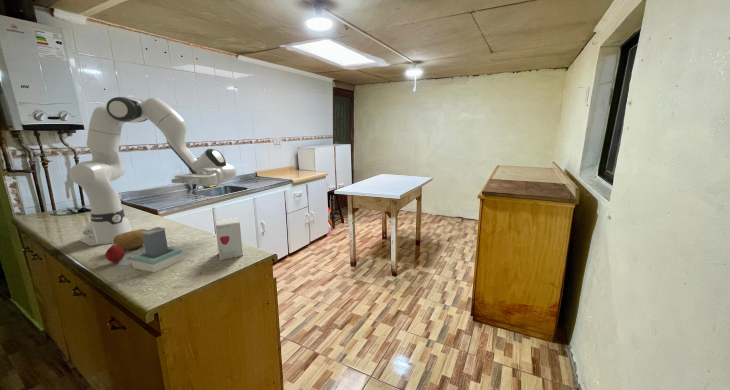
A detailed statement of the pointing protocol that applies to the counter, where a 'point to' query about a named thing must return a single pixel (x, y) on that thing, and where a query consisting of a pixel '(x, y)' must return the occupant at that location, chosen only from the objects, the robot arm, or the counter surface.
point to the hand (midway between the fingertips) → (180, 181)
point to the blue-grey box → (155, 242)
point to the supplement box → (229, 238)
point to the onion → (115, 253)
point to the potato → (130, 239)
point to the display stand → (157, 260)
